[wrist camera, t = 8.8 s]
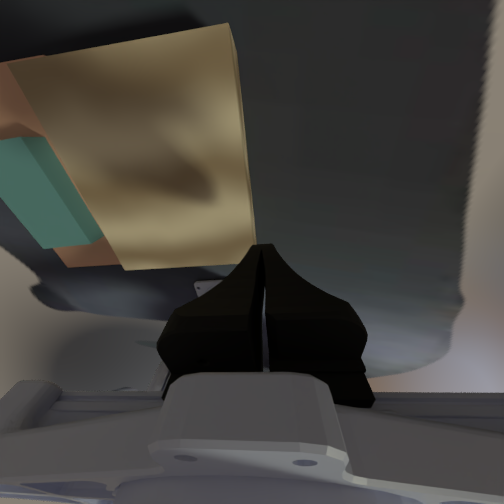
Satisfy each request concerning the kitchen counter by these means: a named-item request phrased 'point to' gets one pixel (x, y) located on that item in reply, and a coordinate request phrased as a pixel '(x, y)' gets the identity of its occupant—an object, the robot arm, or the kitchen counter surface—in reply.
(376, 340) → the kitchen counter surface
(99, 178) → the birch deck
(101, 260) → the terracotta mat
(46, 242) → the teal rectangular block
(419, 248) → the kitchen counter surface
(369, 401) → the robot arm
